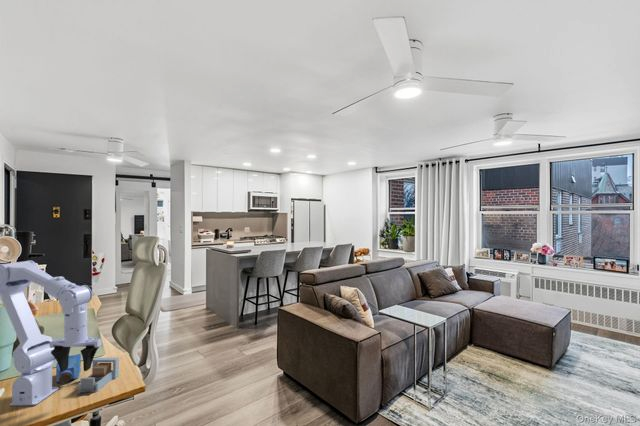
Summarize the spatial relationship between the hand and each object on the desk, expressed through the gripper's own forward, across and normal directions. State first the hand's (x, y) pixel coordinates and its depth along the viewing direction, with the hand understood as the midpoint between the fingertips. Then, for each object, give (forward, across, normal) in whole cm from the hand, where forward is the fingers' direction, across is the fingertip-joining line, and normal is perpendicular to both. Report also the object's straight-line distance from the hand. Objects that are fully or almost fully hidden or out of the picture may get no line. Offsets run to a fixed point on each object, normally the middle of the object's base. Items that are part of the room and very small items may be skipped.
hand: (75, 369), depth 99 cm
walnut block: (+9, 0, -12) cm, 15 cm away
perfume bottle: (+7, +15, -19) cm, 25 cm away
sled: (+9, 0, -12) cm, 16 cm away
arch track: (+10, 0, -12) cm, 15 cm away
